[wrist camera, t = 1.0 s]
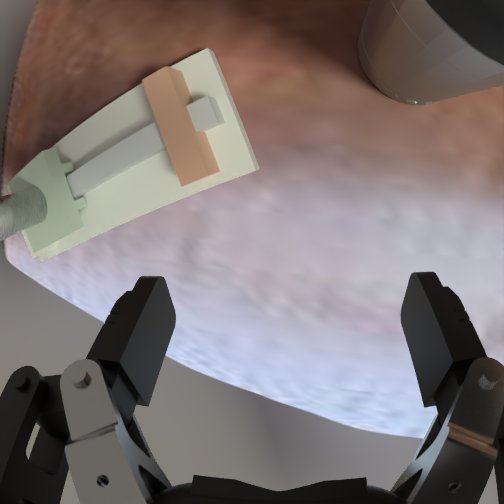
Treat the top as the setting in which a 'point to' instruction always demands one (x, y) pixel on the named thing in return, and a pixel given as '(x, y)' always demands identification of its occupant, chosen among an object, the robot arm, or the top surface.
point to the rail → (160, 167)
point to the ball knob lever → (41, 202)
